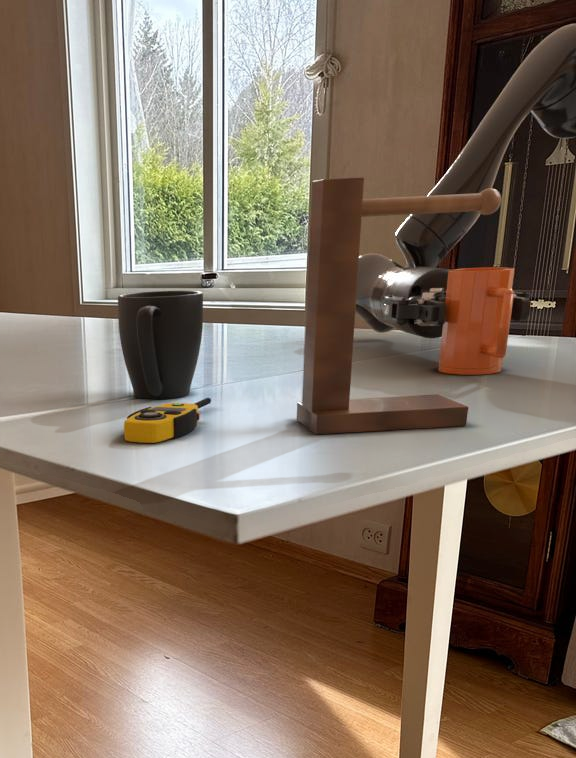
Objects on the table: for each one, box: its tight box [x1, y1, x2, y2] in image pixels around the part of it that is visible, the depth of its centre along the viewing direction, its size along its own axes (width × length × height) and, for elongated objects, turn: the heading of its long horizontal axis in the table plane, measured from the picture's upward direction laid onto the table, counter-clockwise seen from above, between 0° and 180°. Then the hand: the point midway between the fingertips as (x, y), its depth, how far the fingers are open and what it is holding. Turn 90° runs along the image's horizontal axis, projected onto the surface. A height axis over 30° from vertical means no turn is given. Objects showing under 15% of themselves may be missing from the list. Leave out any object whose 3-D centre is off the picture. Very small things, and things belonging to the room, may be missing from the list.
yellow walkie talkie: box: [123, 397, 212, 444], centre depth 77 cm, size 5×2×15 cm
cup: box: [437, 266, 515, 376], centre depth 93 cm, size 10×6×10 cm, turn 3°
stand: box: [296, 176, 502, 435], centre depth 71 cm, size 14×6×18 cm, turn 93°
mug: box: [117, 290, 204, 400], centre depth 88 cm, size 8×12×10 cm
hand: (483, 312), depth 93 cm, fingers open, 8 cm apart
